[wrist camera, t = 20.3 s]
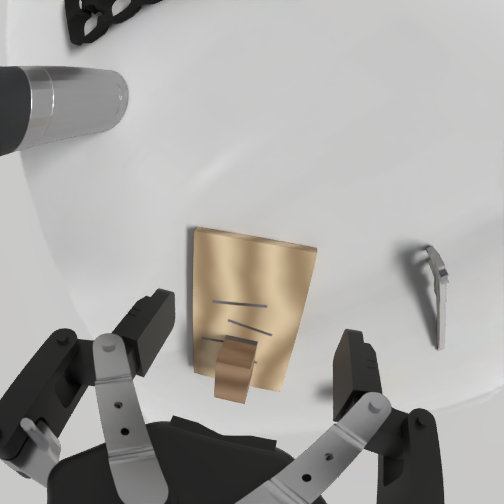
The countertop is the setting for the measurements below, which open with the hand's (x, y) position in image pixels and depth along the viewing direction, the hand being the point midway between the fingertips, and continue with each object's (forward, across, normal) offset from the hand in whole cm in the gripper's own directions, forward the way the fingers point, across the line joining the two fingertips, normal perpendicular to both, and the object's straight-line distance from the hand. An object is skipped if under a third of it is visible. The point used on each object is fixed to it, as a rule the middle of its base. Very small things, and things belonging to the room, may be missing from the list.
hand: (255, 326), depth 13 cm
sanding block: (+24, +3, +28) cm, 37 cm away
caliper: (+26, -25, +12) cm, 38 cm away
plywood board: (+25, +3, +21) cm, 33 cm away
